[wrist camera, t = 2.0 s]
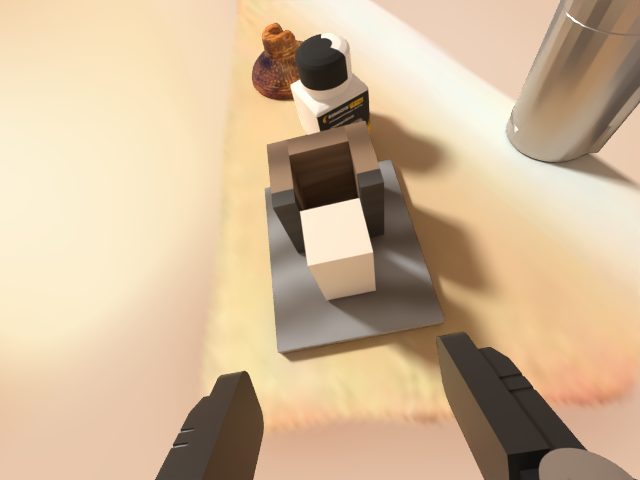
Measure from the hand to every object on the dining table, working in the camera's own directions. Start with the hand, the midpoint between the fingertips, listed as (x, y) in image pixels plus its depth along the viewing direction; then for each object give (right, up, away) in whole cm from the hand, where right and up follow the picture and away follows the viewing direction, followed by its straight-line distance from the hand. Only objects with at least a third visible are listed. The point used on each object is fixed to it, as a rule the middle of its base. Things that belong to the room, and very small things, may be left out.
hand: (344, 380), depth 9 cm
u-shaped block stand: (+2, +3, +27) cm, 27 cm away
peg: (+2, +1, +24) cm, 24 cm away
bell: (-6, +31, +43) cm, 53 cm away
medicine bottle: (+1, +19, +35) cm, 40 cm away
